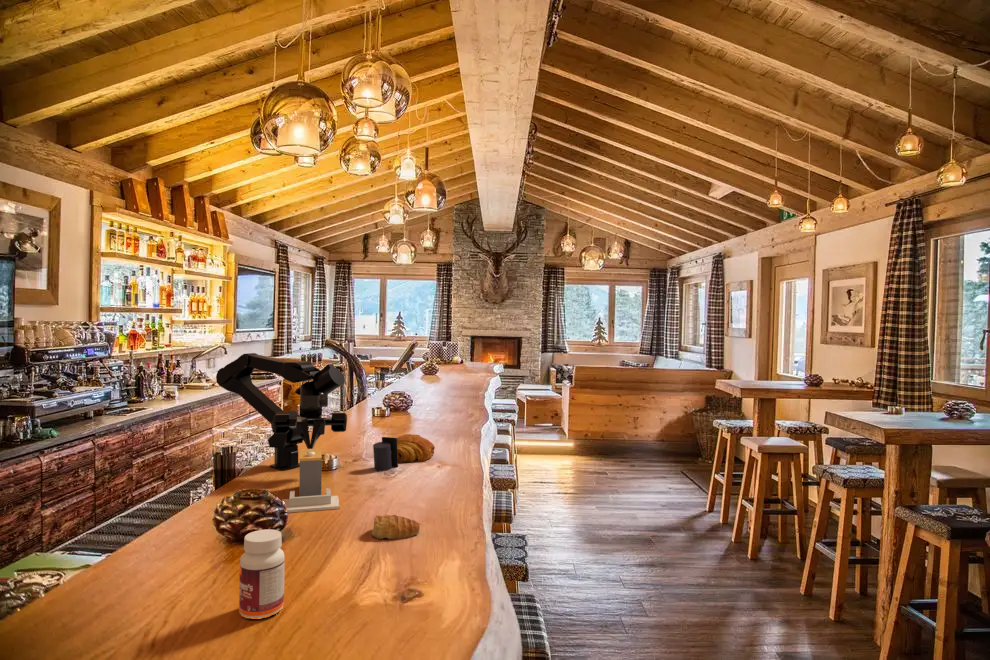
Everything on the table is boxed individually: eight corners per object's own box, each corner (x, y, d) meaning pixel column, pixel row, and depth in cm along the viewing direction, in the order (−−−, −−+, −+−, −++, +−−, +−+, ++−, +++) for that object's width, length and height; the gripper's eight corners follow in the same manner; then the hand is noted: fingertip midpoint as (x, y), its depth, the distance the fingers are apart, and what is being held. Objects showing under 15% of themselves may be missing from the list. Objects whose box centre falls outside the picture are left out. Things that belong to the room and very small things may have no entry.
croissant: (379, 468, 178) (377, 442, 177) (402, 449, 193) (400, 426, 191) (423, 471, 174) (421, 445, 172) (443, 452, 188) (441, 428, 187)
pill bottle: (231, 611, 87) (232, 535, 87) (270, 596, 92) (271, 524, 91) (252, 626, 83) (253, 546, 83) (292, 610, 88) (292, 534, 87)
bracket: (281, 502, 137) (281, 491, 137) (337, 498, 141) (337, 487, 141) (280, 513, 130) (280, 502, 130) (339, 508, 133) (339, 497, 133)
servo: (299, 487, 150) (300, 446, 149) (320, 485, 151) (320, 445, 151) (299, 498, 140) (299, 455, 140) (321, 497, 142) (321, 454, 141)
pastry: (419, 528, 123) (420, 509, 123) (419, 540, 116) (419, 521, 116) (373, 529, 122) (374, 510, 122) (370, 541, 115) (371, 522, 115)
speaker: (386, 463, 173) (385, 434, 172) (398, 467, 171) (398, 437, 169) (370, 470, 168) (369, 440, 167) (382, 474, 165) (382, 443, 164)
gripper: (274, 383, 155) (270, 434, 145) (347, 383, 160) (349, 431, 150) (275, 408, 163) (272, 458, 152) (345, 407, 168) (346, 454, 158)
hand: (310, 450), depth 153 cm, fingers closed
